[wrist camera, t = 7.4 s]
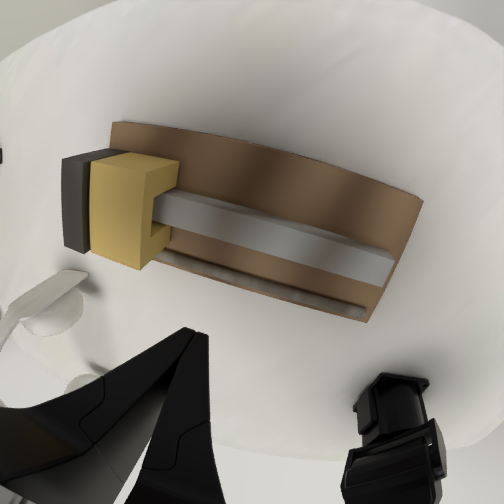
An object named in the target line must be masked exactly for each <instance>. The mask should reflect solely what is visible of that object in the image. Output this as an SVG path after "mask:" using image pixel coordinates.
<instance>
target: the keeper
mask: <svg viewBox="0 0 504 504" xmlns="http://www.w3.org/2000/svg"><path fill="white" fill-rule="evenodd" d="M179 163H180V161H175V160H170V159H165V158H159V157H154V156H149V155H143V154H137V153H132V152H129V153H124V154H120V155H116V156H111V157H107V158H103V159H99V160H95V161H92V162H91V171H90V204H89V212H90V245H91V252H92V253H95V254H97V255H100V256H102V257H105V258H107V259H110V260H112V261H115V262H118V263H120V264H123V265H126V266H128V267H131V268H134V269H136V270H139V271H140V270H141V269H142V268H143V267H144V266H145V265H146V264H147V263H148V262H150V261H151V260H152V259H153V258H154V257H155V256H156V255H157V254H158V253H159V252H160V251H161V250H163V249H164V248H165V247H166V246H167V245H168V244H169V240H170V231H171V226H170V225H167V224H163V223H160V222H156V221H153V220H152V210H153V200H154V197H156V196H158V195H159V194H161V193H163V192H165V191H167V190H169V189H171V188H173V187H176V183H177V176H178V169H179Z"/></svg>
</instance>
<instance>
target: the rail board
mask: <svg viewBox="0 0 504 504" xmlns="http://www.w3.org/2000/svg"><path fill="white" fill-rule="evenodd" d="M129 152H132V153H137V154H143V155H149V156H154V157H159V158H165V159H170V160H175V161H180V163H179V169H178V176H177V183H176V187H173V188H171V189H169V190H167V191H165V192H163V193H161V194H159V195H158V196H156V197H154V200H153V210H152V220H153V221H156V222H160V223H163V224H167V225H170V226H171V231H170V240H169V244H168V245H167V246H166V247H165V248H164V249H163V250H161V251H160V252H159V253H158V254H157V255H156V256H155V257H154V258H153V259H152V260H155V261H158V262H161V263H164V264H167V265H170V266H173V267H176V268H179V269H182V270H185V271H188V272H191V273H194V274H197V275H201V276H204V277H207V278H210V279H213V280H216V281H220V282H223V283H226V284H229V285H233V286H236V287H239V288H242V289H246V290H249V291H252V292H256V293H259V294H262V295H266V296H269V297H273V298H276V299H280V300H283V301H287V302H290V303H294V304H297V305H301V306H304V307H308V308H312V309H315V310H319V311H323V312H326V313H330V314H334V315H338V316H341V317H345V318H349V319H353V320H357V321H361V322H365V323H367V322H368V320H369V318H370V317H371V315H372V313H373V311H374V309H375V307H376V306H377V304H378V302H379V300H380V298H381V296H382V294H383V292H384V290H385V288H386V287H387V285H388V283H389V281H390V278H391V276H392V274H393V272H394V270H395V268H396V266H397V264H398V262H399V260H400V257H401V255H402V253H403V251H404V249H405V246H406V244H407V242H408V239H409V237H410V235H411V232H412V230H413V227H414V225H415V222H416V220H417V217H418V215H419V212H420V210H421V207H422V204H423V200H421V199H420V198H419V197H416V196H414V195H412V194H409V193H407V192H404V191H402V190H399V189H397V188H394V187H392V186H389V185H387V184H384V183H382V182H379V181H376V180H374V179H371V178H368V177H365V176H362V175H360V174H357V173H354V172H351V171H348V170H345V169H342V168H339V167H336V166H333V165H330V164H327V163H323V162H320V161H317V160H314V159H310V158H307V157H303V156H300V155H296V154H293V153H289V152H285V151H282V150H278V149H274V148H270V147H266V146H262V145H258V144H254V143H249V142H245V141H240V140H236V139H231V138H226V137H222V136H217V135H211V134H206V133H201V132H195V131H189V130H183V129H177V128H170V127H163V126H156V125H148V124H139V123H130V122H112V130H111V138H110V146H109V148H107V149H102V150H98V151H93V152H88V153H84V154H80V155H76V156H72V157H68V158H64V159H62V169H61V202H62V224H63V237H64V246H66V247H68V248H70V249H73V250H75V251H77V252H80V253H82V254H85V253H87V252H88V251H89V250H91V245H90V212H89V204H90V171H91V162H92V161H95V160H99V159H103V158H107V157H111V156H116V155H120V154H124V153H129Z"/></svg>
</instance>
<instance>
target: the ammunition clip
mask: <svg viewBox="0 0 504 504" xmlns="http://www.w3.org/2000/svg"><path fill="white" fill-rule="evenodd" d="M0 164H2V149H0Z"/></svg>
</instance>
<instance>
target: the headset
mask: <svg viewBox="0 0 504 504" xmlns="http://www.w3.org/2000/svg"><path fill="white" fill-rule="evenodd" d="M87 276H88V273H87V272H81V271H74V270H63V271H60V272H58V273H56V274H55V275H53V276H51V277H50V278H48V279H46V280H45V281H43V282H42V283H40V284H39V285H37V286H35V287H34V288H32V289H31V290H29V291H28V292H26V293H25V294H23V295H22V296H20V297H19V298H17V299H16V300H15V301H13V302H12V303H11V304H10V305H9V308H8V311H7V312H6V314H5V315H4V316H3V318H2V319H1V321H0V351H1V349H2V347H3V345H4V344H5V342H6V340H7V339H8V337H9V336H10V334H11V333H12V331H13V330H14V329H15V327H16V326H17V325H18V324H19V323H20V322H21V323H22V325H23V326H24V328H25V329H26V330H27V331H29V332H30V333H32V334H34V335H38V336H53V335H57V334H60V333H62V332H64V331H66V330H68V329H69V328H71V327H72V326H73V325H74V324H75V323H76V322H77V321H78V320H79V318H80V317H81V315H82V312H83V307H84V302H83V297H82V295H81V293H80V292H79V291H78V290H77V289H76V288H75V287H74V286H75V285H77V284H78V283H80V282H81V281H82V280H84V279H85V278H86V277H87ZM97 378H99V376H97V375H94V374H84V375H80V376H78V377H76V378H75V379H73V380H72V381H71V382H70V383H69V384H68V386H67V387H66V390H65V393H64V394H67V393H69V392H71V391H74V390H76V389H78V388H80V387H82V386H84V385H86V384H88V383H90V382H92V381H94V380H95V379H97ZM0 407H7V406H6V405H5V404H4V403H3V401H2V400H1V399H0Z"/></svg>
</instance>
